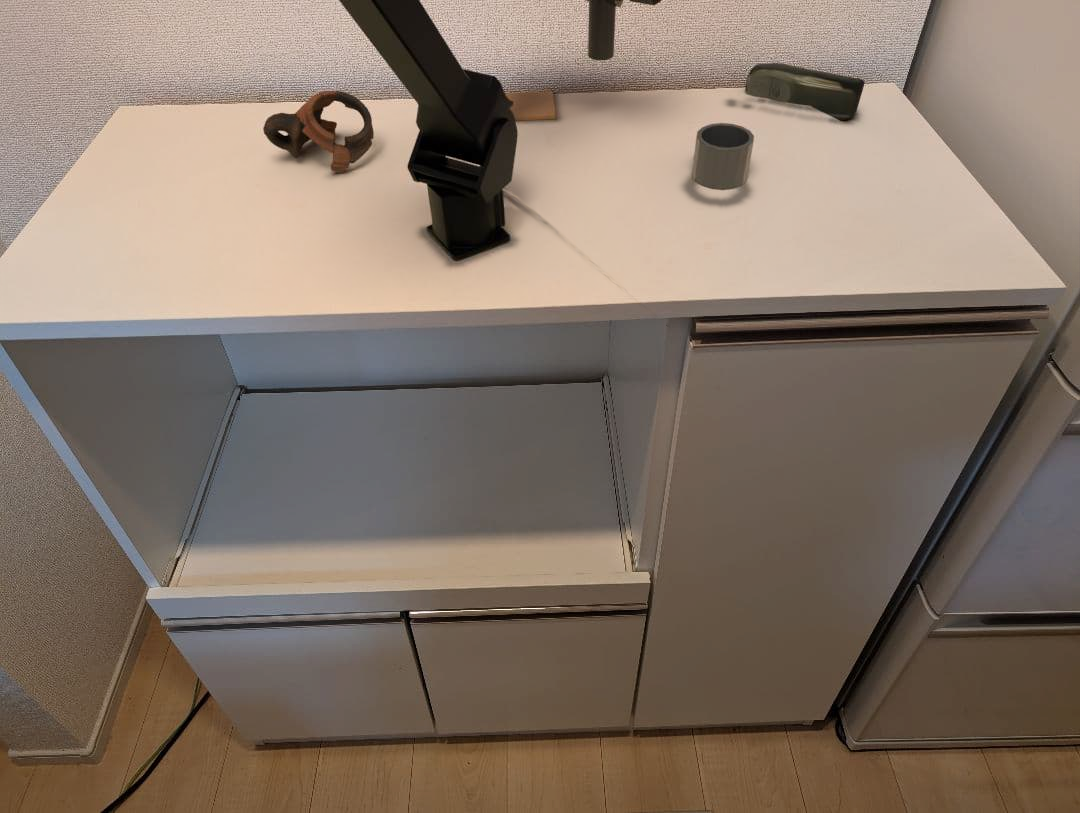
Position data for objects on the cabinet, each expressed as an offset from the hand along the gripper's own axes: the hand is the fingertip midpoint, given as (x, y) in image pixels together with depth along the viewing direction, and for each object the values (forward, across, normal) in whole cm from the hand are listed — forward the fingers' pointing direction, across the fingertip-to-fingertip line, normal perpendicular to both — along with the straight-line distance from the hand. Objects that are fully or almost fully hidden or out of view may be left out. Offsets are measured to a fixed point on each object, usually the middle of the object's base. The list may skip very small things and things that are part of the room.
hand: (607, 0), depth 90 cm
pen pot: (+3, -19, +16) cm, 25 cm away
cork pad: (+8, +11, +12) cm, 18 cm away
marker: (+3, 0, +5) cm, 6 cm away
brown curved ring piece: (-8, +24, +27) cm, 37 cm away
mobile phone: (+18, -20, +1) cm, 27 cm away
